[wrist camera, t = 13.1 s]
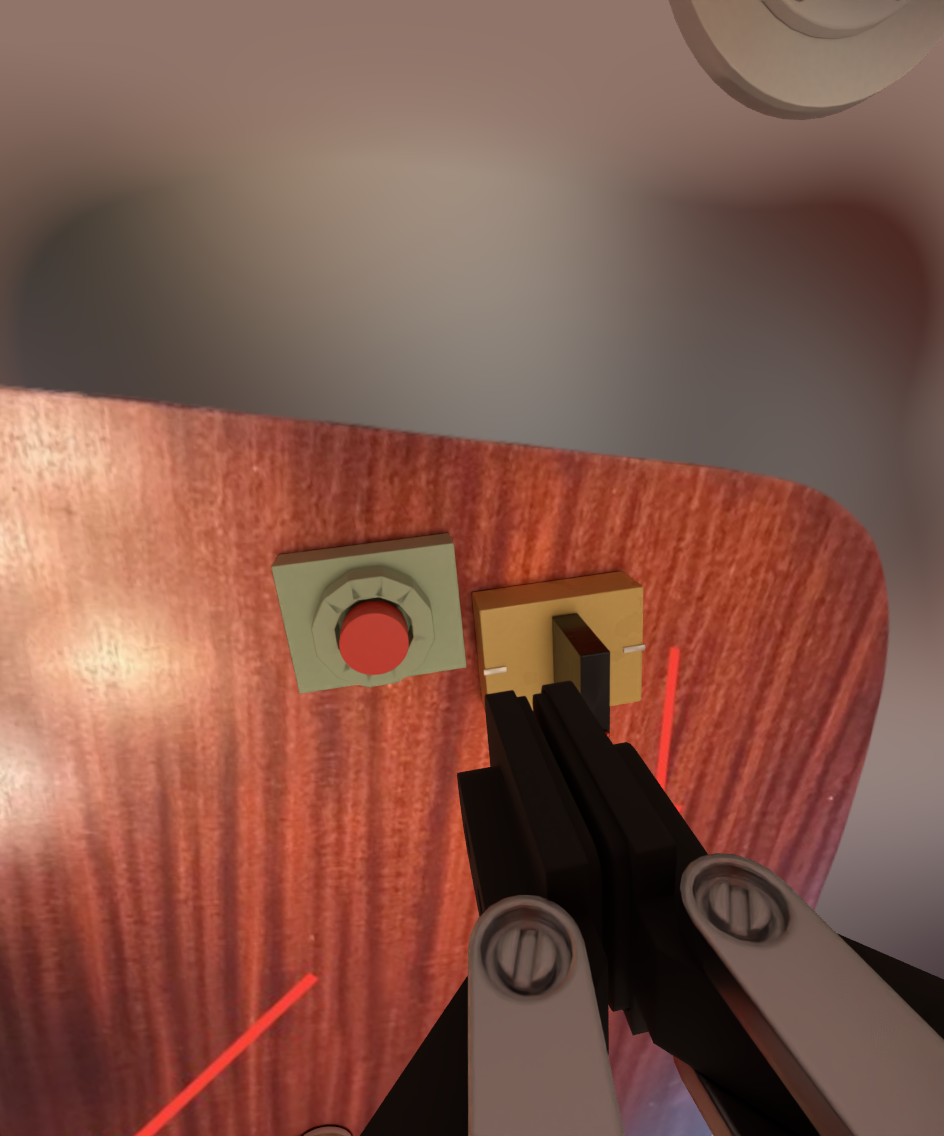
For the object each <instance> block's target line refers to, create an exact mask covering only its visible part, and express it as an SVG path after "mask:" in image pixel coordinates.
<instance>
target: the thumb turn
mask: <svg viewBox="0 0 944 1136" xmlns="http://www.w3.org/2000/svg"><path fill="white" fill-rule="evenodd" d="M552 635H553V668H554V683H557V682H563V681H572V682H573V683H574V685H575V686H576V688H577V689H578V691H579V692H580V694H581V696H582V697H583V699H584V700H585V702H586V703H587V705H588V706H589V708H590V710H591V711H592V713H593V714H594V716H595V717H596V719H597V720H598V722H599V724H600V725H601V727H602V728H603V730H604V731H605V733H606V735H607V736H608V738H609V737H610V651H609V650H608V648H607V647H606V646H605V645H604V644H603V643H602V641H601V640H600V639H599V638H598V637H597V636H596V634H595V633H594V632H593V631H592V630H591V628H590V627H589V626H588V625H587V624H586V623H585V621H584V620H583V619H582V618H581V617H580V616H579V614H578V613H574V614H567V615H560V616H553V617H552Z"/></svg>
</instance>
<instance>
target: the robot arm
mask: <svg viewBox="0 0 944 1136" xmlns="http://www.w3.org/2000/svg"><path fill="white" fill-rule="evenodd" d="M762 1H763V2H764V3H765V4H766V5H767V7H768V8H769V9H770V10H771V11H772V12H773V14H774V15H775V16H776V17H778V18H779V19H780V20H782V21H783V22H784V23H786V24H787V25H788V26H790V27H791V28H792V29H795V30H797V31H799V32H802V33H804V34H807V35H809V36H812V37H819V38H828V39H836V38H843V37H849V36H854V35H857V34H859V33H862V32H864V31H866V30H869V29H871V28H874V27H875V26H877V25H878V24H880V23H881V22H883V21H884V20H886V19H887V18H889V17H890V16H892V15H893V14H895V13H896V12H897V11H899V10H900V9H901V8H902V7H903V6H905V5H906V4H907V3H908V2H909V1H911V0H762ZM485 712H486V723H487V733H488V744H489V755H490V766H491V767H488V768H482V769H477V770H471V771H466V772H460V773H457V780H458V789H459V797H460V806H461V813H462V820H463V827H464V834H465V840H466V846H467V852H468V858H469V863H470V868H471V874H472V879H473V884H474V890H475V895H476V900H477V906H478V911H479V918H478V920H477V922H476V924H475V926H474V928H473V930H472V932H471V934H470V941H469V947H468V976H467V977H466V979H465V980H464V982H463V983H462V985H461V986H460V988H459V989H458V991H457V992H456V994H455V995H454V997H453V998H452V1000H451V1001H450V1003H449V1004H448V1006H447V1007H446V1009H445V1010H444V1012H443V1013H442V1015H441V1016H440V1018H439V1019H438V1021H437V1022H436V1024H435V1025H434V1026H433V1028H432V1029H431V1031H430V1032H429V1034H428V1035H427V1037H426V1038H425V1040H424V1041H423V1043H422V1044H421V1046H420V1047H419V1049H418V1050H417V1052H416V1053H415V1055H414V1056H413V1058H412V1059H411V1061H410V1062H409V1064H408V1065H407V1067H406V1068H405V1070H404V1071H403V1073H402V1074H401V1076H400V1077H399V1079H398V1080H397V1081H396V1083H395V1084H394V1086H393V1087H392V1089H391V1090H390V1092H389V1093H388V1095H387V1096H386V1098H385V1099H384V1101H383V1102H382V1104H381V1105H380V1107H379V1108H378V1110H377V1111H376V1113H375V1114H374V1116H373V1117H372V1119H371V1120H370V1122H369V1123H368V1125H367V1126H366V1128H365V1129H364V1131H363V1132H362V1134H361V1135H360V1136H625V1135H624V1130H623V1125H622V1120H621V1116H620V1111H619V1106H618V1101H617V1096H616V1091H615V1087H614V1082H613V1077H612V1072H611V1067H610V1063H609V1058H608V1055H609V1032H608V1004H609V1006H610V1008H611V1010H612V1011H613V1012H614V1011H618V1010H623V1011H624V1014H625V1016H626V1019H627V1021H628V1024H629V1026H630V1029H631V1032H632V1034H633V1035H636V1034H640V1033H644V1032H648V1031H649V1033H650V1036H651V1038H652V1041H653V1043H654V1044H656V1045H657V1046H659V1047H661V1048H662V1049H664V1050H665V1051H667V1052H669V1053H670V1054H672V1055H673V1058H674V1062H675V1065H676V1067H677V1069H678V1072H679V1074H680V1077H681V1079H682V1081H683V1083H684V1084H685V1086H686V1088H687V1090H688V1091H689V1093H690V1095H691V1097H692V1098H693V1100H694V1102H695V1104H696V1105H697V1107H698V1109H699V1111H700V1112H701V1114H702V1116H703V1118H704V1119H705V1121H706V1123H707V1125H708V1127H709V1128H710V1130H711V1132H712V1134H713V1135H714V1136H944V979H941V978H939V977H937V976H934V975H932V974H930V973H927V972H925V971H922V970H920V969H918V968H916V967H913V966H911V965H909V964H907V963H904V962H902V961H900V960H897V959H895V958H893V957H890V956H888V955H886V954H883V953H881V952H879V951H877V950H874V949H872V948H870V947H867V946H865V945H863V944H860V943H858V942H856V941H853V940H851V939H849V938H846V937H844V936H842V935H840V934H837V933H836V932H835V931H834V930H832V928H831V927H830V926H829V925H828V924H827V923H826V922H825V921H824V920H823V919H822V918H821V917H819V915H817V913H816V912H815V911H814V910H813V909H812V908H811V907H810V906H809V905H808V904H807V903H806V902H805V901H804V900H803V899H802V898H801V897H800V896H799V895H798V894H797V893H796V892H795V891H794V890H793V889H792V888H791V887H790V886H789V885H788V884H787V883H786V882H785V881H783V880H782V879H781V878H780V877H778V876H777V875H776V874H775V873H773V872H772V871H771V870H770V869H768V868H766V867H764V866H763V865H761V864H759V863H757V862H755V861H753V860H751V859H747V858H744V857H741V856H737V855H734V854H719V853H716V854H711V855H708V854H707V852H706V851H705V849H704V848H703V846H702V845H701V844H700V842H699V841H698V839H697V838H696V836H695V835H694V833H693V832H692V831H691V829H690V828H689V826H688V825H687V823H686V822H685V820H684V819H683V818H682V816H681V815H680V813H679V812H678V810H677V809H676V807H675V806H674V805H673V803H672V802H671V800H670V799H669V797H668V796H667V794H666V793H665V792H664V790H663V789H662V787H661V786H660V784H659V783H658V781H657V780H656V779H655V777H654V776H653V774H652V773H651V771H650V770H649V769H648V767H647V766H646V764H645V763H644V761H643V760H642V758H641V757H640V756H639V754H638V753H637V751H636V750H635V749H634V747H633V746H632V745H631V744H629V743H627V742H625V743H619V744H614V745H613V744H612V742H611V741H610V739H609V738H608V736H607V735H606V733H605V731H604V730H603V728H602V727H601V725H600V724H599V722H598V720H597V719H596V717H595V716H594V714H593V713H592V711H591V710H590V708H589V706H588V705H587V703H586V702H585V700H584V699H583V697H582V696H581V694H580V692H579V691H578V689H577V688H576V686H575V685H574V683H573V682H572V681H563V682H557V683H551V684H545V685H543V686H542V688H541V693H538V694H534V695H533V710H532V708H531V706H530V703H529V701H528V699H527V697H526V696H520V697H517V696H516V694H515V692H514V690H509V691H503V692H497V693H491V694H485Z"/></svg>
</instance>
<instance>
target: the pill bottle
mask: <svg viewBox="0 0 944 1136" xmlns="http://www.w3.org/2000/svg"><path fill="white" fill-rule="evenodd" d="M303 1136H351V1134H350V1133H349V1132H348V1131H346V1130H345V1129H342V1128H339V1127H321V1128H317V1129H314V1130H312V1131H310V1132H308V1133H306V1134H305V1135H303Z"/></svg>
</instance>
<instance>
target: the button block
mask: <svg viewBox="0 0 944 1136" xmlns="http://www.w3.org/2000/svg"><path fill="white" fill-rule="evenodd" d="M271 568H272V573H273V577H274V581H275V586H276V590H277V595H278V599H279V604H280V608H281V613H282V617H283V622H284V626H285V631H286V635H287V639H288V644H289V648H290V653H291V657H292V662H293V666H294V671H295V675H296V680H297V684H298V688H299V693H300V694H301V693H307V692H314V691H320V690H326V689H332V688H339V687H345V686H351V685H361V686H365V687H373V686H380V685H386V684H392V683H398V682H399V681H401V680H402V679H404V678H405V677H408V676H414V675H421V674H427V673H433V672H440V671H446V670H452V669H458V668H465V667H466V658H465V648H464V638H463V628H462V619H461V609H460V599H459V590H458V580H457V570H456V561H455V551H454V543H453V541H452V539H451V536H450V534H449V533H445V534H437V535H429V536H421V537H414V538H406V539H398V540H390V541H382V542H375V543H367V544H359V545H351V546H344V547H336V548H328V549H320V550H312V551H305V552H297V553H289V554H281V555H278V556H277V558H276V560H275V562H274V563H273V565H272V567H271ZM367 601H383V602H386V603H389V604H391V605H393V606H395V607H396V608H397V609H398V610H399V611H400V612H401V613H402V614H403V616H404V618H405V620H406V623H407V629H408V638H409V648H408V652H407V654H406V656H405V658H404V660H403V661H402V662H401V663H400V664H399V665H398V666H397V667H396V668H394V669H393V670H391V671H389V672H387V673H384V674H379V675H368V674H363V673H360V672H357V671H356V670H354V669H352V668H351V667H350V666H349V665H347V663H346V662H345V661H344V659H343V658H342V656H341V653H340V649H339V639H340V633H341V627H342V623H343V620H344V618H345V616H346V615H347V613H348V612H349V611H350V610H351V609H352V608H354V607H355V606H357V605H359V604H361V603H364V602H367Z"/></svg>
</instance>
